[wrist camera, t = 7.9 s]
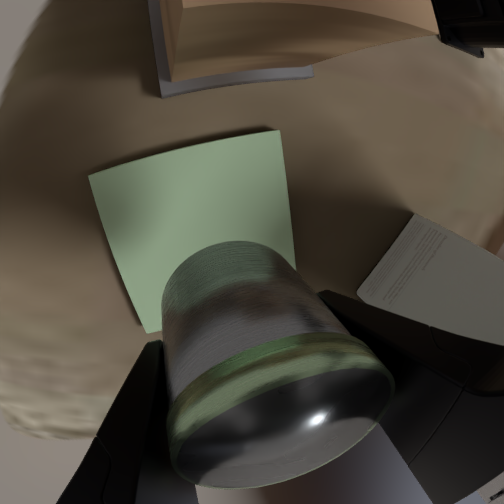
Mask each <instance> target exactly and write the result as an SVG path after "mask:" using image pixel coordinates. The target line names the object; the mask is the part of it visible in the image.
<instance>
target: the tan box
mask: <svg viewBox="0 0 504 504" xmlns="http://www.w3.org/2000/svg"><path fill="white" fill-rule="evenodd" d="M148 8H149V16H150V24H151V32H152V39H153V46H154V53H155V59H156V66H157V72H158V78H159V84H160V89H161V95H162V99H163V98H167V97H171V96H176V95H180V94H185V93H190V92H195V91H201V90H206V89H212V88H218V87H225V86H232V85H239V84H248V83H257V82H267V81H280V80H297V79H307V78H311V77H314V73H313V67H312V64H314V63H317V62H320V61H323V60H326V59H329V58H333V57H336V56H339V55H343V54H346V53H350V52H353V51H357V50H361V49H364V48H368V47H372V46H377V45H381V44H385V43H390V42H395V41H400V40H405V39H411V38H417V37H423V36H430V35H437V34H439V30H438V26H437V22H436V18H435V14H434V10H433V7H432V3H431V0H148Z"/></svg>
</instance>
